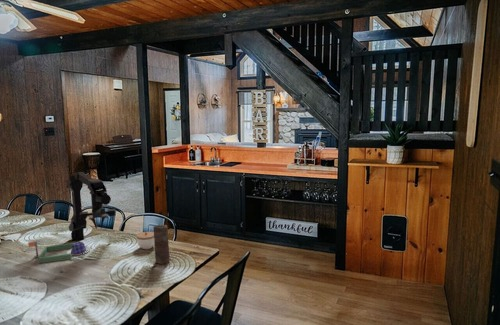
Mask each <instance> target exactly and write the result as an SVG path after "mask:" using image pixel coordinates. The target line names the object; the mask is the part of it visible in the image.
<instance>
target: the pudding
mask: <svg viewBox="0 0 500 325" xmlns="http://www.w3.org/2000/svg"><path fill="white" fill-rule="evenodd" d="M73 243H74V244H73V245H72V248H70V249H69V250H67V251H66V254H70V253H71V256H79V255H83V254H86V253H88V252H90V250H91V248H90V247H88V246H86V245H85V243H84V242H82V241H77V242H73ZM86 249H88V251H87V252H86ZM84 252H85V253H84ZM82 253H83V254H82Z"/></svg>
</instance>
